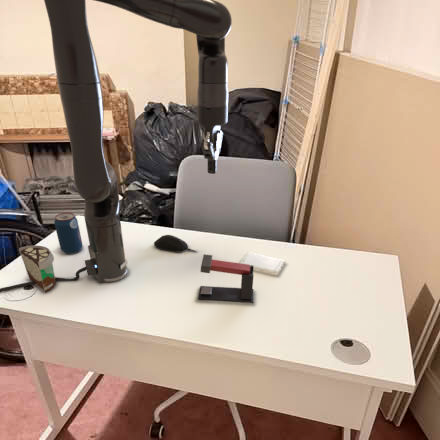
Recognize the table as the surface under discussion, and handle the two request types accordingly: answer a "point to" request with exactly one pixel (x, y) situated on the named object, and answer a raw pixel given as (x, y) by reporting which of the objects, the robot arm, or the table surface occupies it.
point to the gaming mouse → (171, 244)
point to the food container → (39, 266)
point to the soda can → (68, 233)
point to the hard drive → (263, 263)
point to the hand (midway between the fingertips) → (212, 172)
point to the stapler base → (230, 291)
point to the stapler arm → (223, 266)
